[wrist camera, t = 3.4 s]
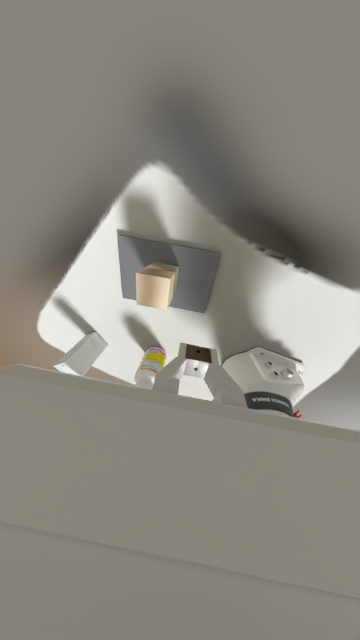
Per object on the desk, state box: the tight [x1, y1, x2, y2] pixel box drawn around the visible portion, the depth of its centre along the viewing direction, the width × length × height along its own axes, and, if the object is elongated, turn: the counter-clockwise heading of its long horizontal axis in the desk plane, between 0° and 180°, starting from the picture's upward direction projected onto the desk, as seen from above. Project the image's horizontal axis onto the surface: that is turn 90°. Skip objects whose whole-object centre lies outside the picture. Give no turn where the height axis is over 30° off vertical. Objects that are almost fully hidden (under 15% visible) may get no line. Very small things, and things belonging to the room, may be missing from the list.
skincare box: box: [54, 332, 107, 376], centre depth 38 cm, size 6×4×12 cm
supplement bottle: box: [135, 347, 166, 390], centre depth 38 cm, size 7×7×13 cm
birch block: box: [136, 262, 179, 310], centre depth 25 cm, size 5×5×10 cm
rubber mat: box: [118, 235, 221, 313], centre depth 29 cm, size 20×13×1 cm, turn 82°
